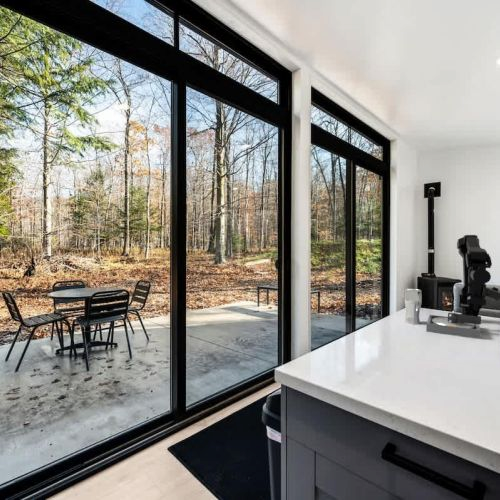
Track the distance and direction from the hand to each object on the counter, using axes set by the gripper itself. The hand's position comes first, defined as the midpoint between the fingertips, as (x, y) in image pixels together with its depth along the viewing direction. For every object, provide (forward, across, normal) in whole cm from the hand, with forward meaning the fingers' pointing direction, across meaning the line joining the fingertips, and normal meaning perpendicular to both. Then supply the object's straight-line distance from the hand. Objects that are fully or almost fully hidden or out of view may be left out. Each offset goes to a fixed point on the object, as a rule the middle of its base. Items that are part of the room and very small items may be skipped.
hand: (475, 318), depth 133 cm
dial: (+3, -5, +7) cm, 9 cm away
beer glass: (+5, -2, +23) cm, 24 cm away
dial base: (+5, -5, +8) cm, 11 cm away
